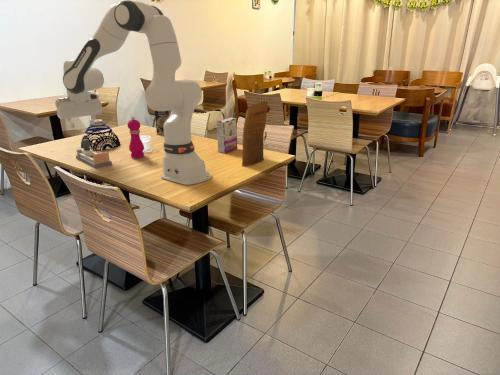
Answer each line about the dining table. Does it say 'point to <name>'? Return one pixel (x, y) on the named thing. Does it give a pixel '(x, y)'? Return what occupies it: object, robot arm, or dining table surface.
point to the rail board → (94, 159)
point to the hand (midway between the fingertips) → (82, 125)
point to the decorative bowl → (113, 140)
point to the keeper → (86, 148)
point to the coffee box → (161, 120)
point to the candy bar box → (227, 135)
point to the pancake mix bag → (254, 133)
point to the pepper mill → (135, 139)
